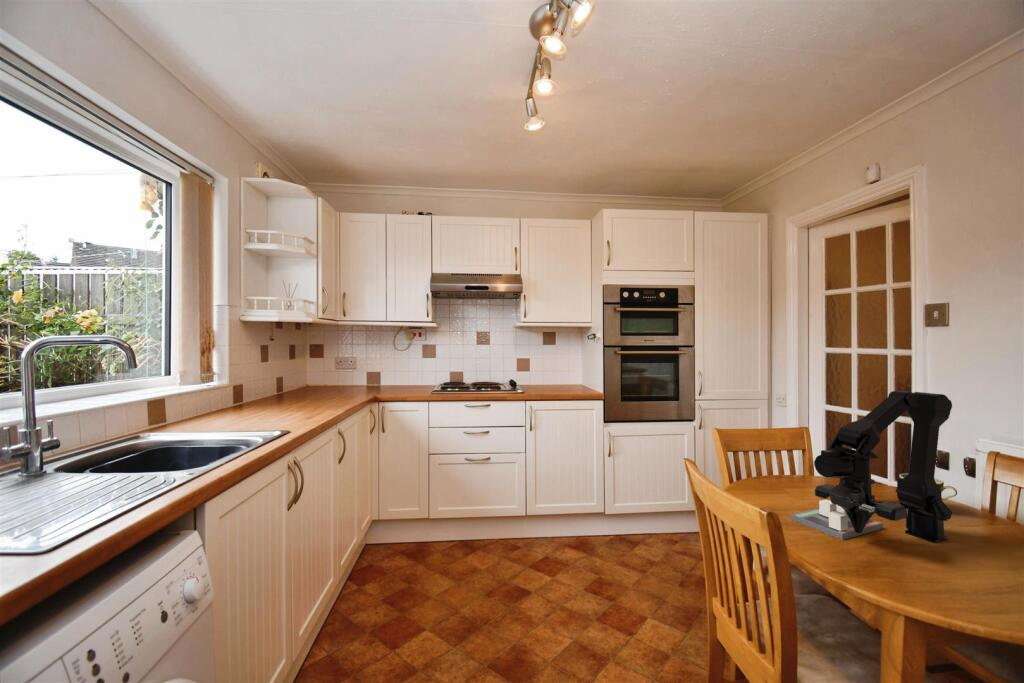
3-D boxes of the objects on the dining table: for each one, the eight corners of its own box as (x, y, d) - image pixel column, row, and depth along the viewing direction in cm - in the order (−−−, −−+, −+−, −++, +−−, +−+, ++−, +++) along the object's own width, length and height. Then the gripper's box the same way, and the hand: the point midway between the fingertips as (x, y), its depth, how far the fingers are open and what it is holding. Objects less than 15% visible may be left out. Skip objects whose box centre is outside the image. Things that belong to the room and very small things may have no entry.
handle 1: (836, 516, 119) (836, 502, 119) (830, 517, 118) (829, 504, 118) (825, 512, 122) (825, 499, 122) (819, 514, 121) (819, 500, 121)
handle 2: (847, 529, 111) (847, 514, 111) (840, 531, 110) (840, 516, 110) (835, 524, 114) (835, 510, 114) (828, 526, 113) (828, 512, 113)
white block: (850, 512, 122) (850, 499, 122) (844, 514, 121) (844, 501, 121) (839, 509, 124) (839, 496, 124) (833, 510, 123) (833, 497, 123)
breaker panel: (882, 528, 115) (882, 523, 115) (842, 539, 109) (842, 534, 109) (829, 510, 128) (829, 505, 128) (790, 519, 122) (790, 514, 122)
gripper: (800, 468, 113) (802, 523, 113) (880, 490, 96) (882, 555, 96) (826, 464, 117) (828, 517, 117) (907, 484, 100) (909, 546, 100)
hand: (858, 532), depth 107 cm, fingers closed
